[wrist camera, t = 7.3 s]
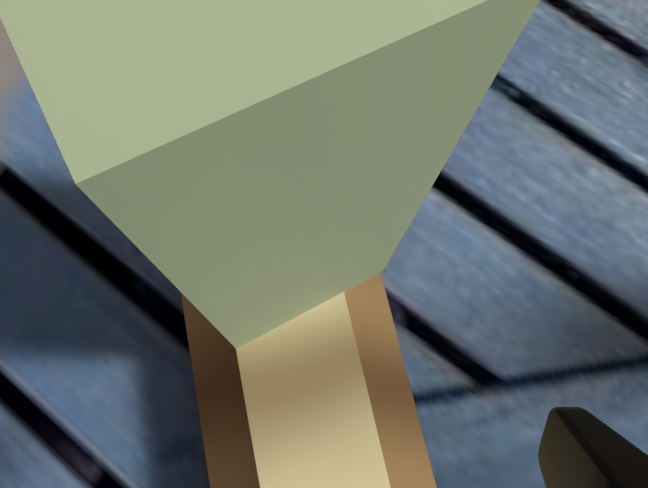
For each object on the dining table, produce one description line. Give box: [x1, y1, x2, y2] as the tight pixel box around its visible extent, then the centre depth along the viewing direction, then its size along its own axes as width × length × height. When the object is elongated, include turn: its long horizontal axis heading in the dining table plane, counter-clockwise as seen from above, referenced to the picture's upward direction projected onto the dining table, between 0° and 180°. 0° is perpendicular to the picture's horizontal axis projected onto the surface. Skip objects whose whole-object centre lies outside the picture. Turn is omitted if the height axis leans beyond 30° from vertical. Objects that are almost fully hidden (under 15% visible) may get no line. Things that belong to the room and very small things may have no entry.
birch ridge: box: [181, 272, 437, 488], centre depth 17 cm, size 18×7×4 cm, turn 12°
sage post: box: [0, 0, 539, 349], centre depth 11 cm, size 5×5×12 cm
